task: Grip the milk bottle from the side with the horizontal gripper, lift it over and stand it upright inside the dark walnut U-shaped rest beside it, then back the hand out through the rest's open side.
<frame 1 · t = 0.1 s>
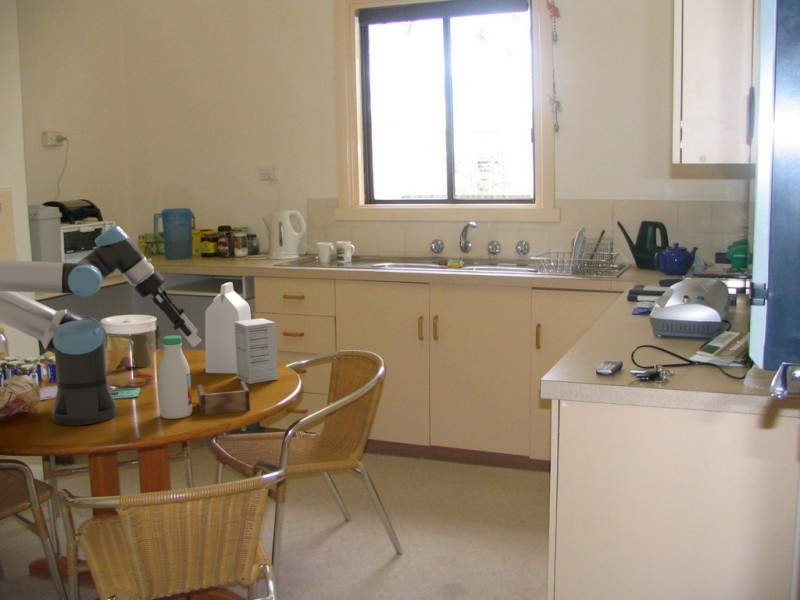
hand: (195, 339, 241), 15 cm above the table, tool tilted 35°, fingers open, 13 cm apart
milk bottle: (176, 415, 224), on the table
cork: (142, 366, 277), on the table
supplement box: (257, 379, 259), on the table
milk: (231, 368, 272), on the table
walnut U-rest: (223, 406, 231), on the table
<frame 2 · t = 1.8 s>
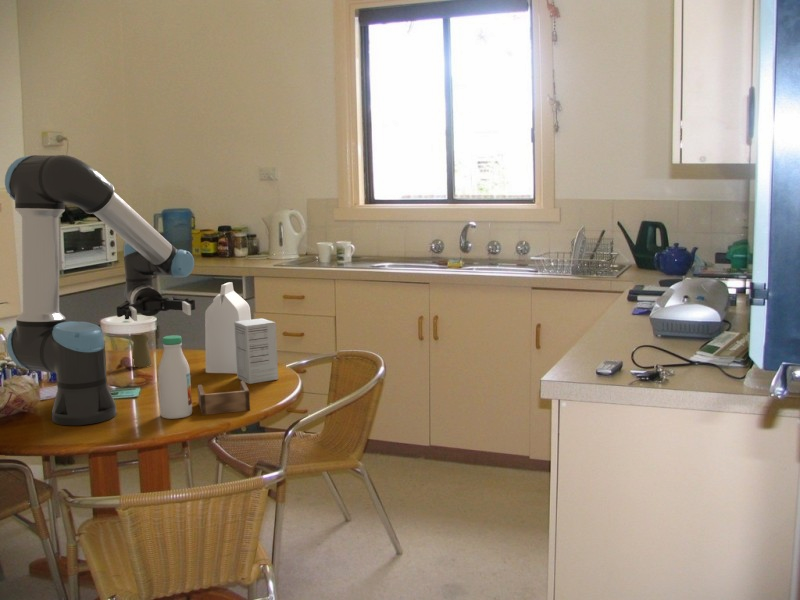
hand: (162, 312, 228), 24 cm above the table, tool horizontal, fingers open, 13 cm apart
nothing on the table moved.
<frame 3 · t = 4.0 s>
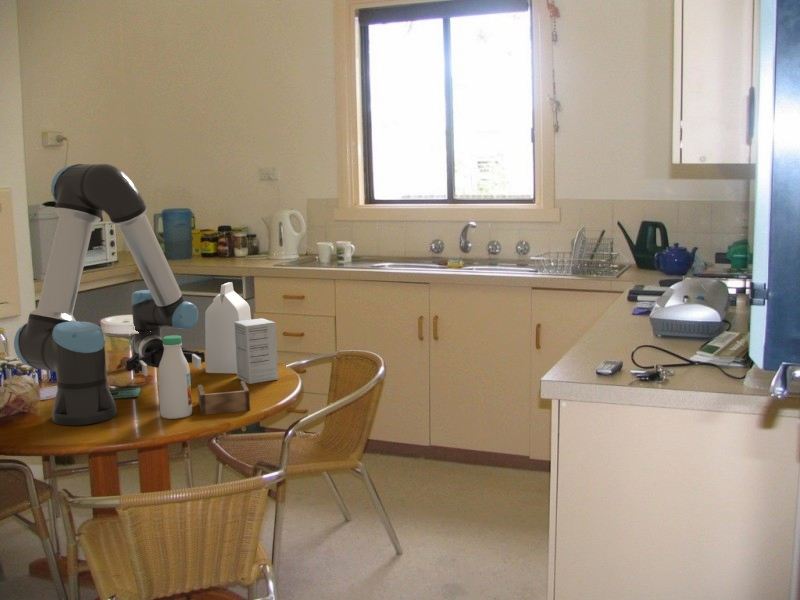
hand: (173, 367, 227), 11 cm above the table, tool horizontal, fingers open, 13 cm apart
nothing on the table moved.
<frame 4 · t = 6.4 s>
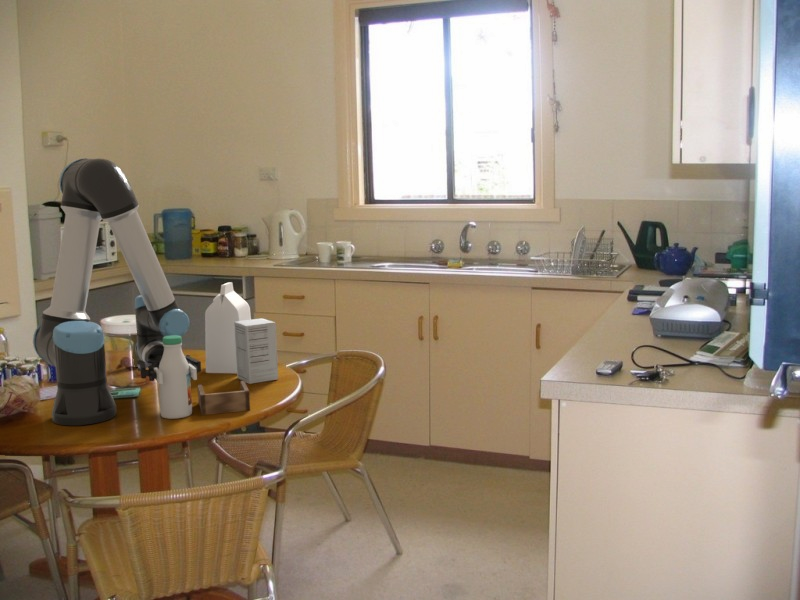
hand: (178, 376, 217), 11 cm above the table, tool horizontal, fingers closed on milk bottle, 8 cm apart
milk bottle: (176, 415, 224), on the table, touching gripper
everything else where it was.
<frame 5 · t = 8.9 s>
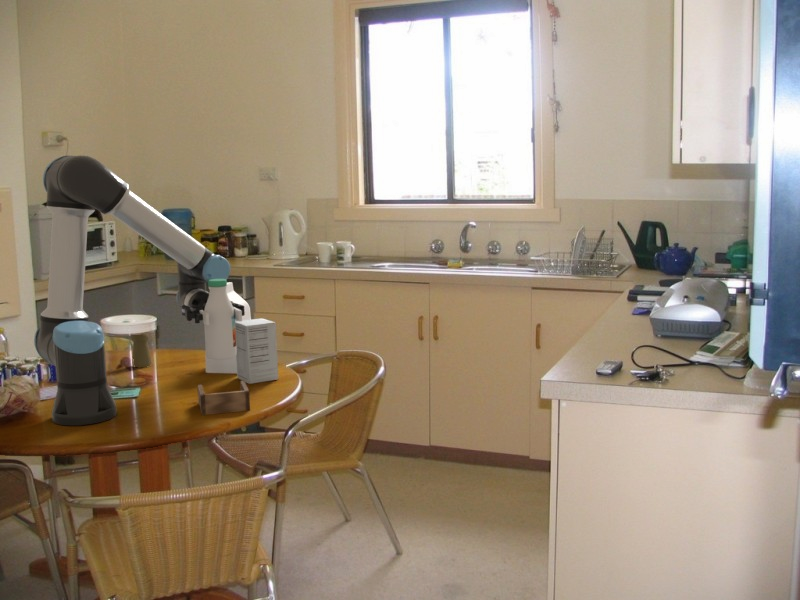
hand: (224, 317, 222), 24 cm above the table, tool horizontal, fingers closed on milk bottle, 8 cm apart
milk bottle: (221, 357, 229), point 13 cm above the table, touching gripper
everything else where it was.
when the fingers open (12 cm above the table, at t = 11.8 s): milk bottle drops 1 cm, resting in walnut U-rest.
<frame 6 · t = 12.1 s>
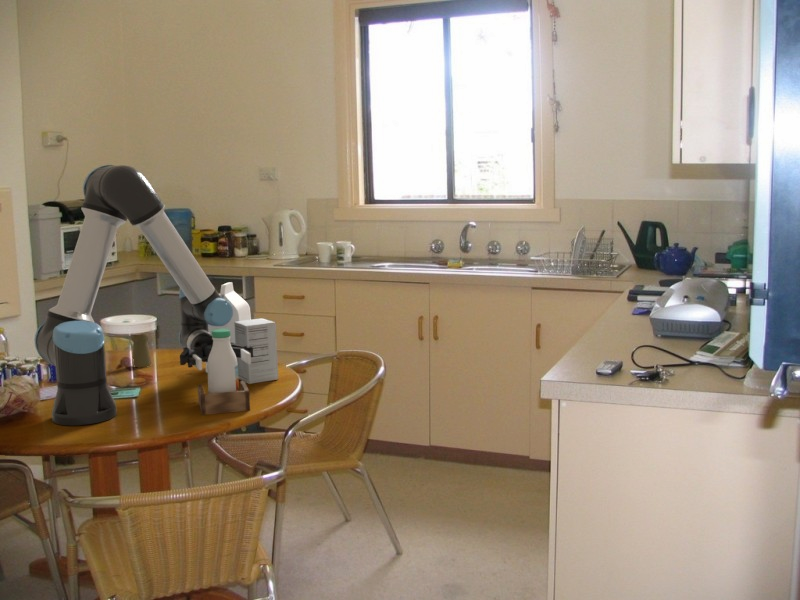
hand: (225, 361, 225), 12 cm above the table, tool horizontal, fingers open, 12 cm apart
milk bottle: (224, 406, 231), resting in walnut U-rest
everything else where it was.
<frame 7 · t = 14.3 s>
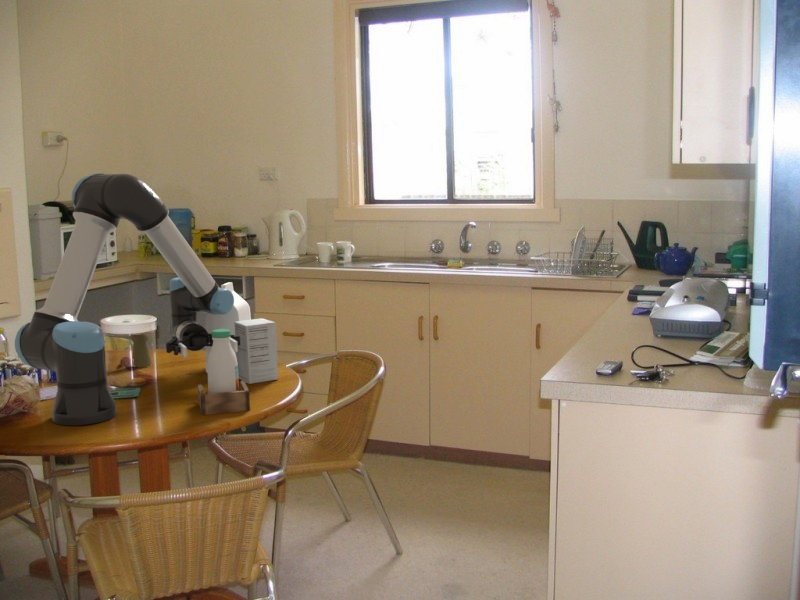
hand: (211, 349, 237), 13 cm above the table, tool horizontal, fingers open, 13 cm apart
nothing on the table moved.
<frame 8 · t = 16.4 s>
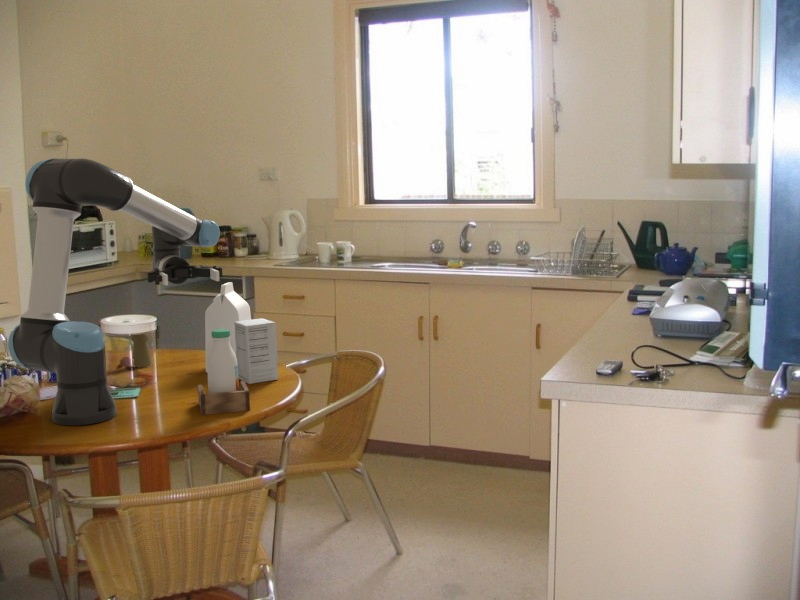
hand: (192, 278, 236), 32 cm above the table, tool horizontal, fingers open, 13 cm apart
nothing on the table moved.
at the end: milk bottle 0.4 cm off-centre on the walnut U-rest, point 0.0 cm above the walnut U-rest's base; milk bottle tilted 0°; the gripper is holding nothing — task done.
